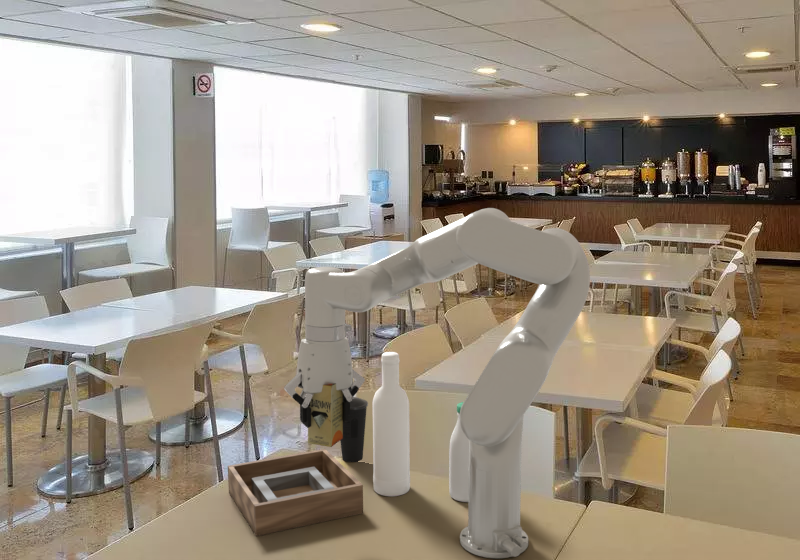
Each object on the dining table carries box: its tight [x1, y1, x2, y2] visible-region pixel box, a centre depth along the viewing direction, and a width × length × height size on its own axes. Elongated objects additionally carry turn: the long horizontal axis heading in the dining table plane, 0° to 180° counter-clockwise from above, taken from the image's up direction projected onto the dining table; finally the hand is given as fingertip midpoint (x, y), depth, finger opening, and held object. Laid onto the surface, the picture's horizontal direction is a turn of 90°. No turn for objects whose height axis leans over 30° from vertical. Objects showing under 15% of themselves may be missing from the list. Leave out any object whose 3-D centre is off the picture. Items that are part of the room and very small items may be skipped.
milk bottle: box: [448, 401, 469, 503], centre depth 166 cm, size 8×8×20 cm
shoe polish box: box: [307, 383, 343, 448], centre depth 153 cm, size 5×5×12 cm
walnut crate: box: [227, 448, 364, 537], centre depth 164 cm, size 22×22×6 cm
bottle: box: [372, 351, 411, 497], centre depth 168 cm, size 8×8×30 cm
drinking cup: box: [339, 378, 369, 463], centre depth 187 cm, size 8×8×20 cm
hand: (325, 421), depth 153 cm, fingers closed on shoe polish box, 7 cm apart
